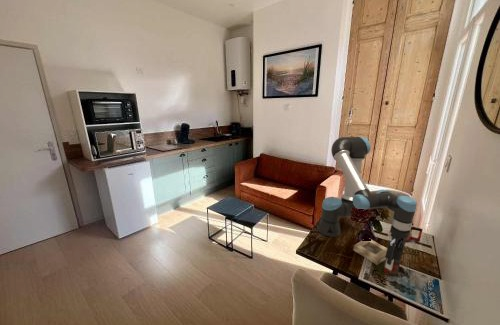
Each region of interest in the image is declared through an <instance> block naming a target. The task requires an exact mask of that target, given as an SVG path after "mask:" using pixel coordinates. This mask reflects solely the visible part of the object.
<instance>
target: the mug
mask: <svg viewBox="0 0 500 325" xmlns="http://www.w3.org/2000/svg"><path fill="white" fill-rule="evenodd" d="M412 225H413V227H411V229H410V234H409V237H408V238H406V241H405V243H409V242H410V240H412V241H415V242H420V241H421V237H422V233H423V228H420V227H416V226H414V223H413V222H412ZM412 231H417V232H419V233H418V235H417V237H414V236H411V235H412ZM390 236H391V237H392V236H393V234H392V233H391V235H390Z"/></svg>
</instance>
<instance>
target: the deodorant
mask: <svg viewBox="0 0 500 325" xmlns="http://www.w3.org/2000/svg"><path fill="white" fill-rule="evenodd" d="M402 253H403V254H404V250H403V249H402V248H401V247H399V248H397V250H396V253H395V256H394V258H393V259H394V262H393V266H392V270H389V269H387V268H386V267H385V265H386V261H387V258H386V259H385V260H384V261H385V262H384V265H383V272H384V274H386V275H387V276H390V277H397V276H398V272H399V268H400V265H401V260H402V257H403V255H402Z"/></svg>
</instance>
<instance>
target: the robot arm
mask: <svg viewBox="0 0 500 325" xmlns="http://www.w3.org/2000/svg"><path fill="white" fill-rule="evenodd" d="M370 152H371V143H370V141H369V139H368V138H367V137H364V136H343V137H342V136H341V137H339V138H337V139H335V141H334V142H333V143H332V145H331V155H332V158H333V159H334V161H336V162H337V165H338V166H339V168H340V170H341V172H342V174H343V175H344V178H345V180H344V181H345V182H344V193H343V194H341V198H339V197H336V196H335V197H334V196H328V197H325V198H323V201H322V205H321V216H320V219H319V222H318V223H317V226H316V227H317V231H318V232H319V233H320V234H322V235H323V236H327V237H332V238H334V237H338V236H340V235H341V231H342V230H341V226H340V218H349V217H352V216H351V209H352V208H353V207H354V206H355V208H357V209H364V210H372V209H384V208H386V209H389V210H390V211H392V212H394V213H393V216H392V221H391V225H390V233H391V234H393V236H391V240H389V241H388V244H387V247H386V248H387V252H386V255H385V258H387V261H386V260H385V261H386V265H385V264H384V265H385V267H386V268H387V269H389V270H392V266H393V262H394V259H393V258H394V256H395V253H396V250H397V248H399V247H401V248H402V249H403V251H404V249H405V245H406V242H405V241H406V238H408V237H409V234H410V229H411V227H414V224H413V225H412V223H413V221H414V217H415V215H416V214H415V213H416V211H417V205H418V202H417V200H416V199H415V198H413V197H410V196H408V195H399V196H397V195H396V194H394V193H392V192H390V191H388V190H385V189H380V190H378V191H376V192H375V193H372V192H371V191H370V189H369V187H368V186H367V184H366V183H365V180H364V179H363V177H362V175H361V174H362V173H361V172H362V163H363V161H364V160H365V159H366V155H369V153H370ZM403 255H404V252H403V253H402V256H403Z"/></svg>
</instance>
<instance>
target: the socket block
mask: <svg viewBox="0 0 500 325" xmlns="http://www.w3.org/2000/svg"><path fill="white" fill-rule="evenodd" d="M387 248H388V247H385V246H384V245H381V244H380V243H378V242H376V241H375V240H373V239H371V241H362V240H360V241H359V242H357V243H356V244H354V245H353V249H352V251H354V252H355V253H357V254H359V255H361V256H362V257H364V258H365V259H367V260H368V261H370V262H372V263H373V264H374V265H376V266H378V265H380V264H381V263H382V262H384V261H386V258H385V255H386V252H387Z"/></svg>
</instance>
